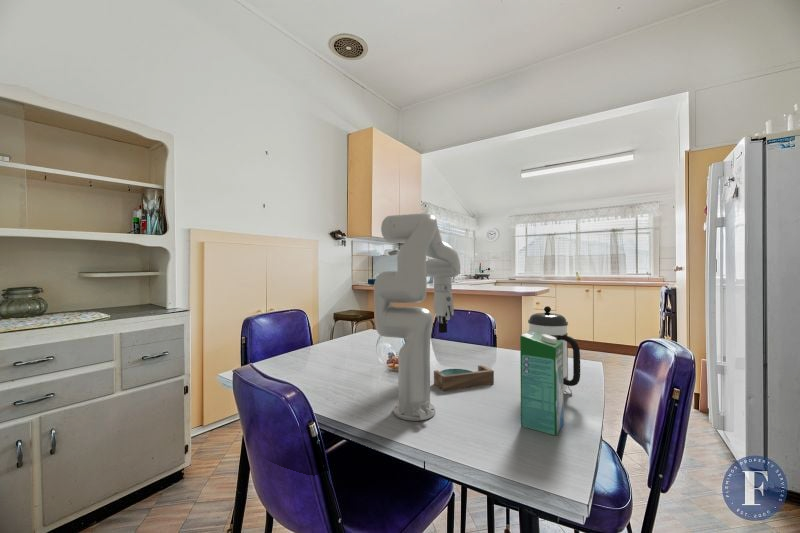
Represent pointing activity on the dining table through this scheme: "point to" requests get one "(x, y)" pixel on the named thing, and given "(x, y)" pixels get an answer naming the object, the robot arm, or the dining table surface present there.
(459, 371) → the saucer
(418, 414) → the robot arm
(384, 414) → the dining table surface
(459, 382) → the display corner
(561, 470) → the dining table surface
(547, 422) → the milk carton
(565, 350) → the coffee press
